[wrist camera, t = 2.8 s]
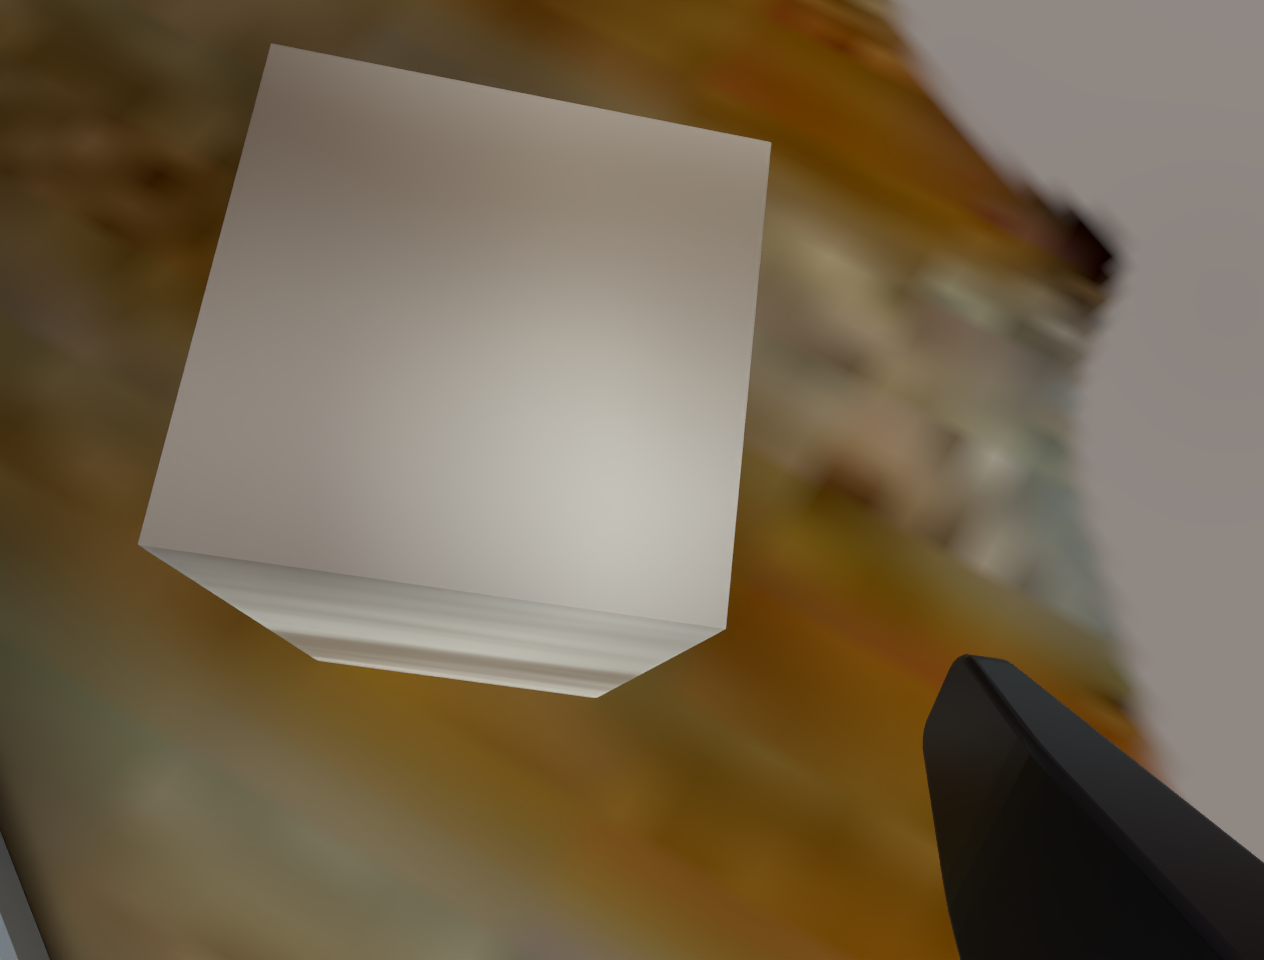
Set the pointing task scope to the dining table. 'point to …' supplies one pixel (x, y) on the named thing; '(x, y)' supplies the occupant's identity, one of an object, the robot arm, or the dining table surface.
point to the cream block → (468, 380)
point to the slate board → (16, 916)
